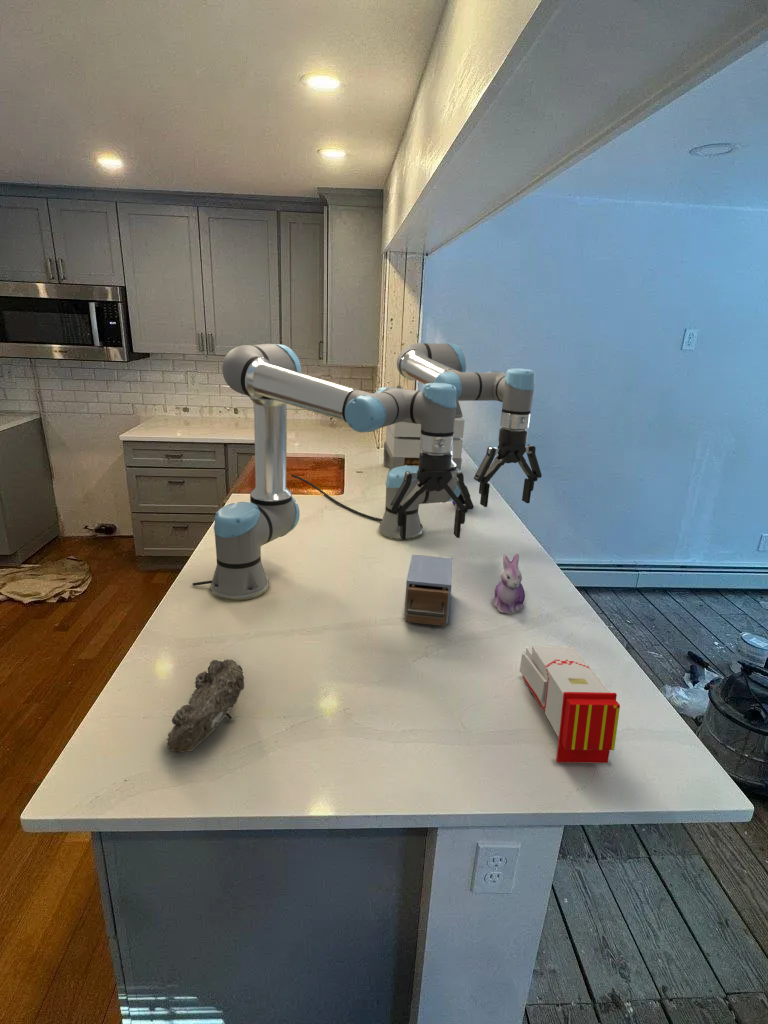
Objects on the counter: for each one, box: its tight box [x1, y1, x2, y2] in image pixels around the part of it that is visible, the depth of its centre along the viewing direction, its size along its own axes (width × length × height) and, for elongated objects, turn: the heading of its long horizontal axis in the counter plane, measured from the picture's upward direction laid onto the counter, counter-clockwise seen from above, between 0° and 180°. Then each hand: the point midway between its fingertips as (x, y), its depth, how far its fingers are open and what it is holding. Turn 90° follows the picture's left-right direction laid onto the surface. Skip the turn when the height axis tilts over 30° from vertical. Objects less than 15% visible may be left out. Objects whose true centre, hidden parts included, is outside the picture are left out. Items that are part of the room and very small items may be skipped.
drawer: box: [405, 584, 449, 627], centre depth 144 cm, size 21×10×9 cm, turn 172°
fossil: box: [166, 658, 245, 754], centre depth 106 cm, size 22×10×15 cm
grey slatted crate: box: [383, 384, 465, 472], centre depth 268 cm, size 34×33×41 cm
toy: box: [519, 645, 621, 764], centre depth 112 cm, size 12×13×30 cm
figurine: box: [493, 553, 526, 615], centre depth 151 cm, size 9×10×15 cm
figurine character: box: [451, 485, 471, 509], centre depth 228 cm, size 7×8×15 cm
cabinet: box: [403, 553, 454, 625], centre depth 150 cm, size 16×11×11 cm
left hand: (429, 537), depth 138 cm, fingers open, 13 cm apart
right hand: (504, 503), depth 159 cm, fingers open, 13 cm apart
